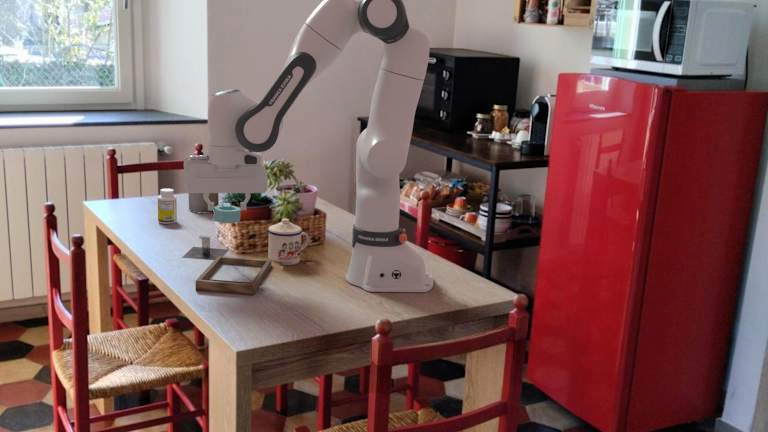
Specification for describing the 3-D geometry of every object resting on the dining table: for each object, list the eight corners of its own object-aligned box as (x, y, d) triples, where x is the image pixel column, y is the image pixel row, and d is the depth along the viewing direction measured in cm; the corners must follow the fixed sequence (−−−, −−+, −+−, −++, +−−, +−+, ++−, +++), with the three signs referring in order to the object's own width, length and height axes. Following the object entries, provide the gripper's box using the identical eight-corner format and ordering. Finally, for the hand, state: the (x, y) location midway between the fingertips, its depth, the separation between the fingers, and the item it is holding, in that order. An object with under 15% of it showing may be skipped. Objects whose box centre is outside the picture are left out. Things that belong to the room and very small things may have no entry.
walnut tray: (271, 269, 211) (271, 260, 211) (253, 295, 192) (253, 285, 192) (218, 265, 212) (218, 256, 212) (195, 290, 193) (195, 280, 192)
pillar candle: (221, 207, 271) (220, 162, 268) (215, 214, 262) (215, 168, 258) (191, 205, 271) (191, 161, 267) (185, 212, 262) (184, 167, 258)
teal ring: (240, 223, 202) (240, 211, 202) (213, 222, 201) (214, 210, 200) (238, 214, 211) (239, 203, 211) (213, 213, 210) (213, 202, 209)
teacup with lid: (278, 268, 213) (279, 225, 210) (261, 258, 220) (261, 217, 217) (316, 261, 220) (318, 220, 217) (298, 252, 227) (300, 212, 224)
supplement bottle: (166, 218, 253) (166, 186, 251) (180, 221, 251) (180, 189, 248) (154, 222, 248) (153, 189, 246) (167, 225, 246) (167, 192, 243)
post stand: (229, 253, 223) (229, 233, 221) (219, 264, 213) (219, 243, 212) (193, 250, 223) (193, 230, 222) (181, 261, 214) (181, 240, 212)
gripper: (182, 157, 196) (183, 213, 199) (267, 158, 199) (268, 212, 202) (184, 152, 202) (185, 206, 205) (267, 153, 205) (267, 206, 208)
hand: (227, 209), depth 204 cm, fingers closed on teal ring, 7 cm apart
